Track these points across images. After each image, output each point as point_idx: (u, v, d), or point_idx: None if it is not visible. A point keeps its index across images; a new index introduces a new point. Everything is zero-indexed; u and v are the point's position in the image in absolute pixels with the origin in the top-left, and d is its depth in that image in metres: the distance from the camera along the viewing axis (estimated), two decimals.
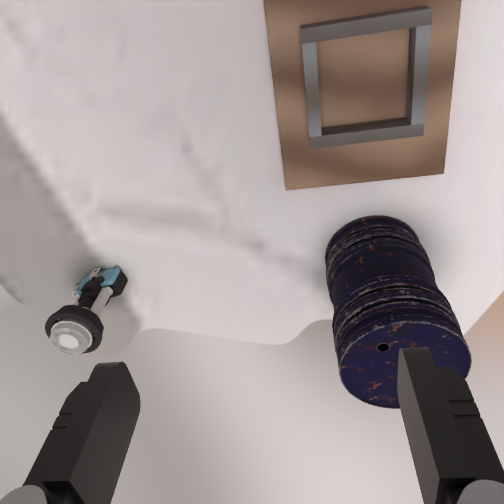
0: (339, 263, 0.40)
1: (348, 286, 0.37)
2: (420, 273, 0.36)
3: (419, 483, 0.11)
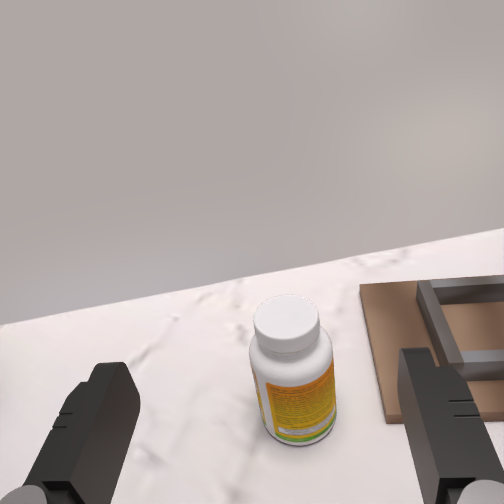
0: None
1: None
2: None
3: (419, 483, 0.11)
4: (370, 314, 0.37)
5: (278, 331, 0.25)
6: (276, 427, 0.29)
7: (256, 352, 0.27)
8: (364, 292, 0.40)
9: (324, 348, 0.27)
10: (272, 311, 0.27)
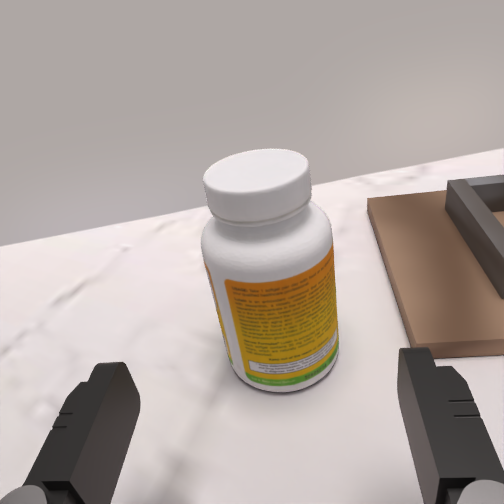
0: None
1: None
2: None
3: (419, 483, 0.11)
4: (383, 228, 0.27)
5: (241, 184, 0.15)
6: (246, 362, 0.19)
7: (210, 235, 0.17)
8: (374, 206, 0.30)
9: (318, 224, 0.16)
10: (235, 166, 0.17)
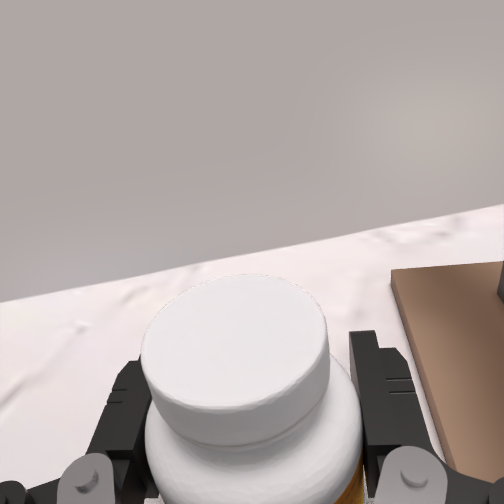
0: None
1: None
2: None
3: None
4: (416, 322, 0.20)
5: (204, 381, 0.08)
6: None
7: (157, 429, 0.10)
8: (401, 283, 0.23)
9: (342, 420, 0.10)
10: (199, 317, 0.10)
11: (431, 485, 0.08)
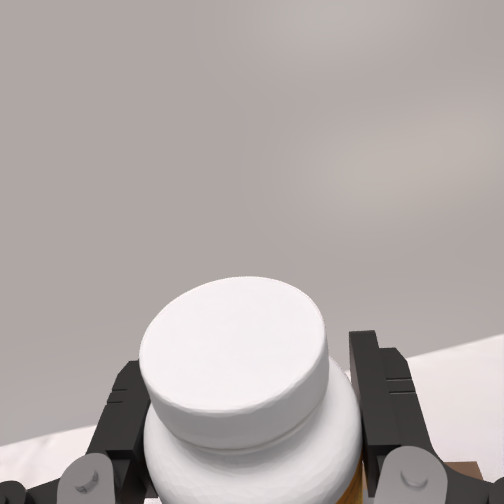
0: None
1: None
2: None
3: None
4: None
5: (203, 384, 0.08)
6: None
7: (155, 432, 0.10)
8: None
9: (341, 423, 0.10)
10: (198, 320, 0.10)
11: (431, 485, 0.08)
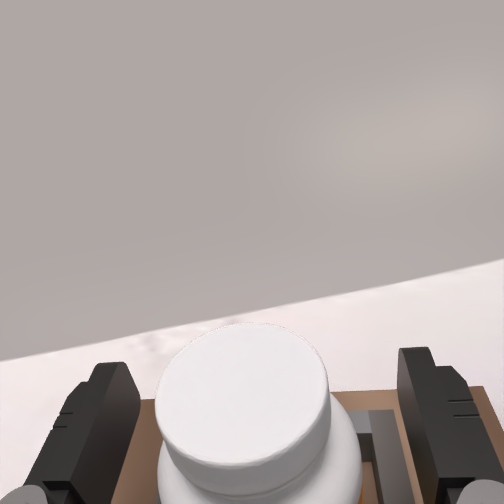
0: None
1: None
2: None
3: (419, 483, 0.11)
4: None
5: (214, 436, 0.09)
6: None
7: (169, 471, 0.11)
8: None
9: (342, 464, 0.10)
10: (208, 368, 0.10)
11: None
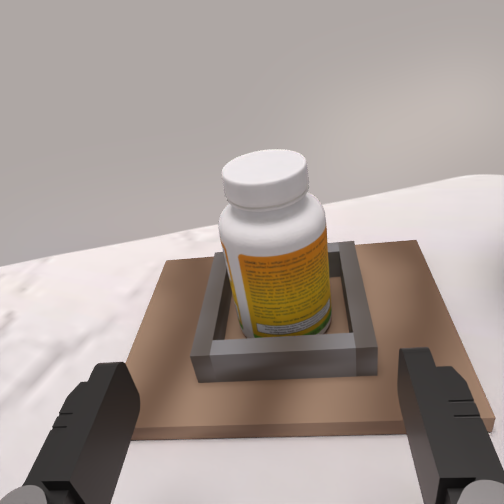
0: None
1: None
2: None
3: (419, 483, 0.11)
4: (157, 296, 0.29)
5: (253, 178, 0.19)
6: (254, 324, 0.23)
7: (226, 219, 0.21)
8: (165, 270, 0.32)
9: (314, 210, 0.20)
10: (247, 163, 0.21)
11: None
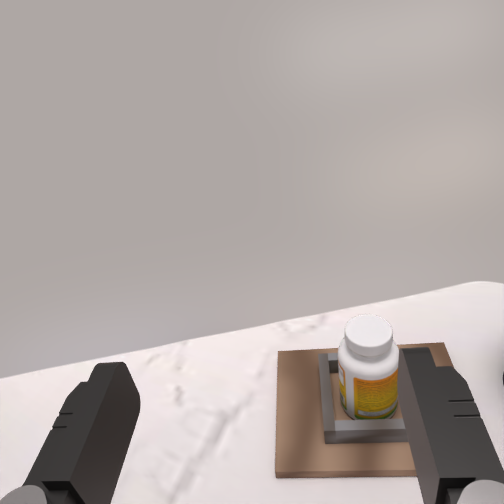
0: None
1: None
2: None
3: (419, 483, 0.11)
4: (280, 380, 0.46)
5: (366, 341, 0.36)
6: (356, 410, 0.40)
7: (345, 356, 0.38)
8: (280, 359, 0.48)
9: (395, 352, 0.37)
10: (358, 326, 0.38)
11: None
